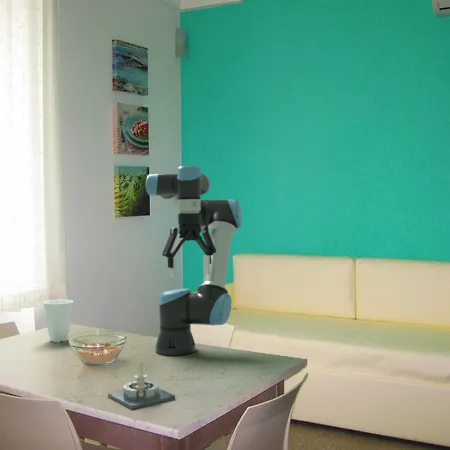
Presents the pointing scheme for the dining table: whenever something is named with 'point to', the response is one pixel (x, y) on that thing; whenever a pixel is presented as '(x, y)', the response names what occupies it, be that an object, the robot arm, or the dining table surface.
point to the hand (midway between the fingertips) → (190, 276)
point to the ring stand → (133, 401)
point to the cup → (58, 318)
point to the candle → (140, 379)
